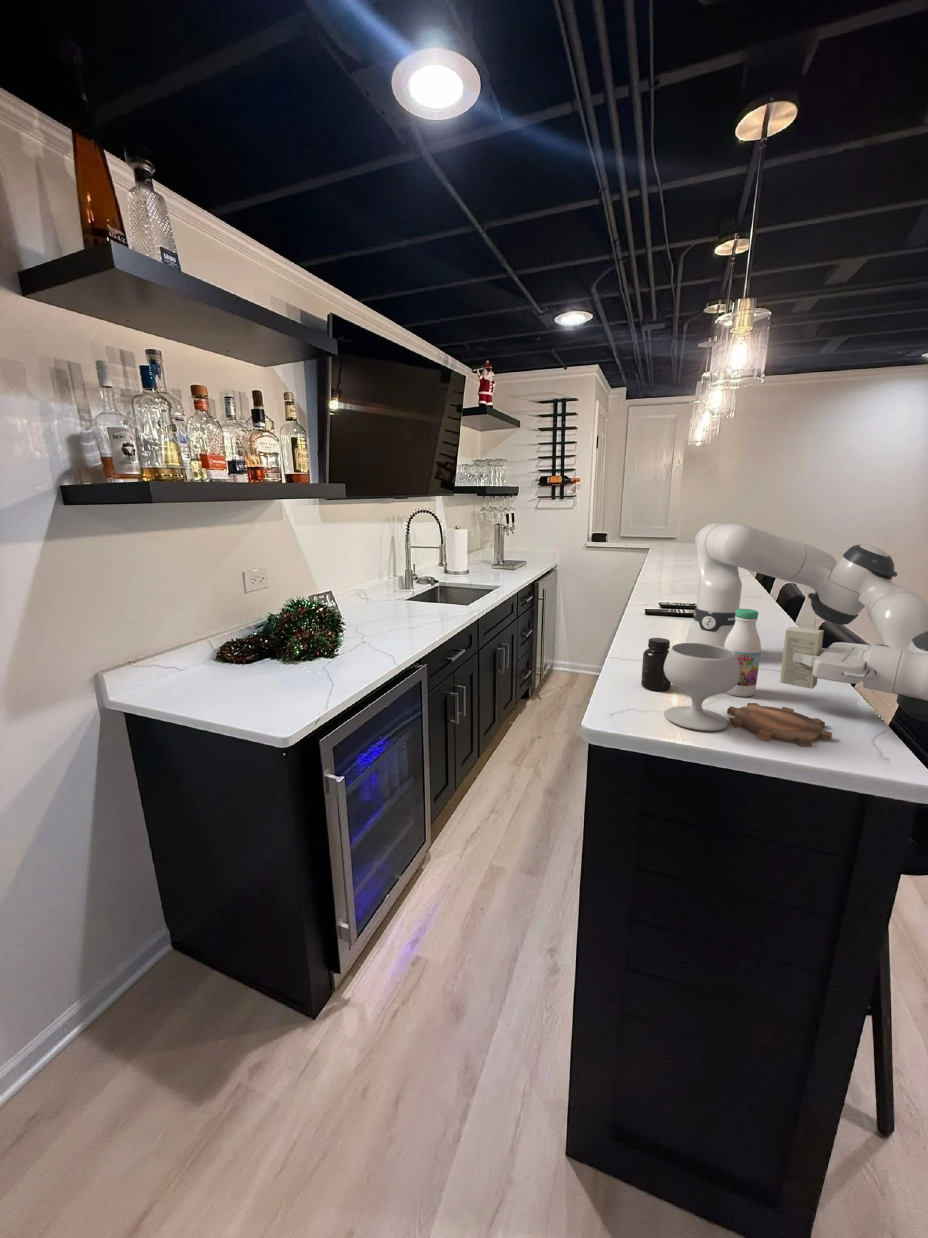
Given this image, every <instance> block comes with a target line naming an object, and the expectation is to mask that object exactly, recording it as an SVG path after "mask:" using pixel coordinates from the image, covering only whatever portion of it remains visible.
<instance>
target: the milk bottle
mask: <svg viewBox="0 0 928 1238" xmlns="http://www.w3.org/2000/svg"><path fill="white" fill-rule="evenodd" d="M758 618H759V611H758V610H756V609H750V608H739V609H737V610H736V612H735V619H736V621H735V624H734V626H733V628H732V630H731V631H730V633H729V634H728V636H727V638H726V640H725V644H724V648H726V649H729V650H731V651H733V652H734V653H735V654H736V656H737V658H738V661H739V666H740V679H739V682H738V684H737V685H736V686H735V687H734V688H733V689H731V690H729V691H727V692H724V693H723V694H727V695H731V696H733V697H742V698H743V697H744V698H747V697H753V696H754V695H755V694H756V688H757V681H758V675H759V668H760V660H761V651H762V647H761V646H762V644H761V638H760V636H759V633H758V629H757V622H758Z"/></svg>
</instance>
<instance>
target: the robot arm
mask: <svg viewBox="0 0 928 1238" xmlns="http://www.w3.org/2000/svg"><path fill="white" fill-rule="evenodd" d="M694 546H695V548H696V551H697V567H698V592H697V600H696V607H694V612H693V620H694V621H692V622H690V624H688V626H687V630H686V636H685V642H684V643H701V644H709V645H715V646H720V647H723V648H724V644H725V640H726V638H727V636H728V634H729V633H730V631H731V630H732V628H733V626H734V624H735V621H736V619H735V612H736V610H737V609H740V604H741V597H742V587H743V583H742V580H741V577H740V573H739V568H740V569H743V570H748V571H751V572H754V573H757V574H761V575H765V576H768V577H772V578H775V579H779V580H781V581H782V580H783V581H786V582H791V583H794V584H799V585H803V586H806V587H807V586H808V587H809V588H811V589H812V590H814V592H809V593H808V595H807V597H808V598H809V599H810V605H811V608H812V611H813V612H814V614H815V615H816V616H817V617H819V618H820V619H821V620H823V621H825V622H827V623H830V624H833V625H834V624H835V625H840V626H844V625H849V624H851V623H852V622H853V621H855V619H856V618H857V617H859V613H860V612H861V611H863V609H864V608H865V609H866V613H867V617H868V618H869V620H870V622H871V624H872V626H873V627H874V629H875V631H876V634H877V635H878V638H879V640H880V642H881V643H875V644H872V645H871V644H863V643H853V642H841V641H840V642H838V641H837V642H833V643H832V644H830V645H829V646H828V647H827V648H825V647H824V648H823V647H822V648H821V655H820V656H810V655H806V654H805V653H799V652H796V653H795V654H793V661H795V662H800V663H803V664H806V665H808V666H811V667H813V672H812V675H813V676H814V677H817V678H818V679H820V680H826V681H831V682H838V683H844V684H845V683H846V684H860V683H861V682H862V687H863V688H864V689H868V690H873V691H879V692H883V693H888V694H893V695H897V698H896V704H897V705H898V706H899V707H900V708H901V710H902V711H904V713H906V714H907V715H908V716H909V717H911V718H913V719H916V720H918V721H921V722H924V723H928V602H927V601H926V600H925V599H923V597H922V596H920V595H919V594H917V593H916V592H914V591H912V590H910V589H909V588H905V587H903V586H900V585H898V584H895V583H894V582H893V581H892V580H893V577H894V578H896V577H898V572H896V570H895V562H894V560H893V558H892V557H891V555H889V554H888V553H887V552H886V551H885V550H883V549H882V548H879V547H877V546H874V545H869V544H868V545H867V544H855V545H852V546H851V547H850V548H848V549H847V550H846V551H845V552H844V553H843V555H842V557H841V559H839V560H838V562H837V560H836V559H835V558H834V556H833V555H831V554H830V553H828V552H826V551H825V550H822V549H820V548H818V547H815V546H812V545H809V544H806V543H803V542H800V541H795V540H792V539H789V538H785V537H782V536H778V535H775V534H771V533H770V532H766V531H763V530H761V529H758V528H755V527H752V526H750V525H749V526H748V525H746V524H742V523H732V522H731V523H730V522H719V521H718V522H712V523H709V524H707V525H705V526H703V527H702V528H701V529H700V530H698V531H697V532H696V535H695V538H694Z"/></svg>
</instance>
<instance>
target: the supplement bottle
mask: <svg viewBox="0 0 928 1238" xmlns="http://www.w3.org/2000/svg"><path fill="white" fill-rule="evenodd" d="M670 644H671V641H670V640H669V639H668V638H663V637H650V638H648V644H647V647H648V648H647V649H645V650H644V651H643V653H642V664H641V665H642V668H641V682H640V683H641V687H643V688H644V689H645V690H649V691H653V692H666V691H668V690H670V689H671V686H672V683H671V682H670V681H669V680H668V679H667V677H666V676H665V672H664V663H665V660H666V657H667V655H668V653H669V651H670V649H671V646H670Z"/></svg>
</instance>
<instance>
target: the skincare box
mask: <svg viewBox="0 0 928 1238" xmlns="http://www.w3.org/2000/svg"><path fill="white" fill-rule="evenodd" d="M824 631H825V630H823V629H816V628H815V629H813V628H806V627H798V626H789V627H788V628H786V629H785V634H784V635H785V637H784V644H783V653H782V662H781V670H780V679H779V683H781V684H785V685H790V686H795V687H801V688H805V689H806V688H807V689H810V690H811V689H812V690H813V689H814V688H815V687H816V686H817V684H818V679H819V678H817V677H814V676H813V675H812V672H813V667H811V666H808V665H806V664H803V663H800V662H795V661H793V654H795V653H796V652H799V653H805V654H806V655H810V656H820V655H821V648H823V639H824Z"/></svg>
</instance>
